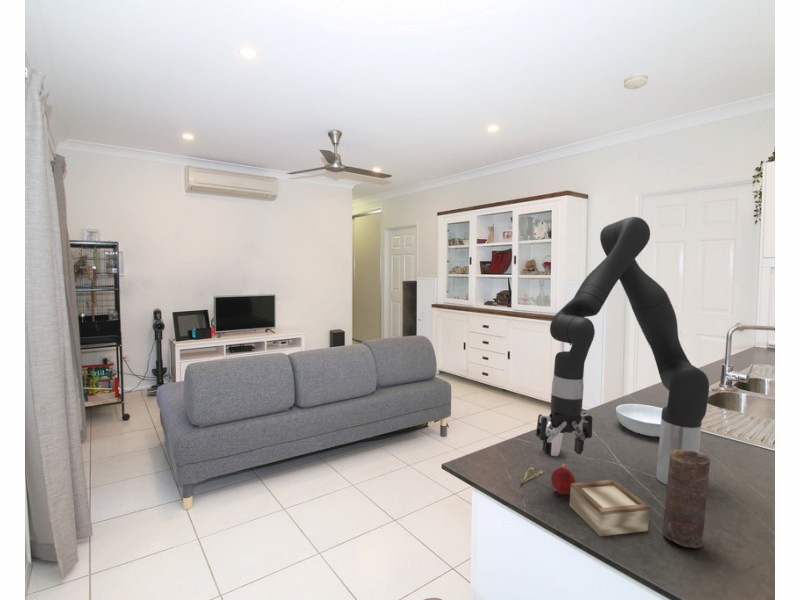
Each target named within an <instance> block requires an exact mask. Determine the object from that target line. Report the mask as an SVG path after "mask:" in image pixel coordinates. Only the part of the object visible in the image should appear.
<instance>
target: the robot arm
mask: <svg viewBox="0 0 800 600" xmlns="http://www.w3.org/2000/svg"><path fill="white" fill-rule="evenodd" d="M599 236H600V237H599V241H600V245H601V248H602V250H603V252H604V254H605V258H604V259H603V260H602V261H601V262H600V263H599V264H598V265H597V266H596V267H595V268H594V269H593V270H591V272H590V273H589V274H588V275H587V276H586V278H584V280H583V281H582V283H581V285H580V286H579V288H578V290H577V291H576V293H575V295H574V296H573V298H572V299H571V300H570V301H568V302H567V303H566V304H565V305H564V306H563V307H562V308H561V309H559V311H558V312H557V313H556V314H555V316H553V318H552V320H551V322H550V325H549V333H550V335H551V337H552V338H553V340H555V341H558V342H562V343H566V344H571V347H570V348H569V349H570V350H568V351H567V350H565V351H560V352H557V353H556V354H555V357H554V365H553V377H552V382H551V393H550V395H551V396H550V413H549V415H543V414H542V413H541V414H538V417H537V424H536V433H535V435H536V437H537V438H538V439H539V440H540V441H542V451H543V453H544V455H546V456H547V457H551V447H552V443H551V441H552V439H553V438H554V437H555V436H557V435H558V434H559V433H563V434H564V433H569V434H571V433H573V434H574V435H575V438H574V439H575V440H574V453H576V454H577V455H582V453H583V451H584V447H585V443H584V442H585V440H587V439H591V438H592V436H593V416H592V415H590V414H588V413H587V412H583V399H584V387H585V386H584V374H585V373H584V372H585V364H586V359H587V356H588V353H589V351H590V348H591V345H592V343H593V341H594V337H595V335H596V334H595V332H596V331H595V330H596V329H595V325H594V324H593V321H592V320H591V319H589V318H590V317H594V316H596V315H598V314H599V313H600V312H601V310H602V308H603V306H604V304H605V302H606V301H607V299H608V297H609V296H610V293H611V292H612V290H614V289H613V288H614V287H615V286H616V284H617V283H618V281H619V282H620V283H621V285H622V288H623V290H624V292H625V294H626V297H627V299H628V301H629V304H630V307H631V309H632V312H633V314H634V317H635V319H636V321H637V322H638V323H637V324H638V326H639V328H640V329H641V332H642V333H643V336H644V337H645V340H646V341H647V343H648V345H649V347H650V350H651V352H652V355H653V357H654V358H653V359H654V361H655V363H656V367H657V370H658V374H659V378H660V381H661V383H662V385H663V386H664V388H666V390H667V391H668V398H667V399H668V400H667V405H666V406H664V407H663V409H662V415H661V427H660V437H659V440H658V441H659V442H658V452H657V453H658V454H657V464H656V465H657V466H656V479H657V481H659V482H660V483H662V484H664V485H666V486H667V481H668V471H669V461H670V454H671V452H672V451H673V450H676V449H680V450H684V451H694V452H698V453H702V451H701V450H700V444H701V431H702V424H703V423H702V422H703V419H704V418H705V416H706V413H707V409H708V408H707V407H708V400H709V393H710V381H709V377H708V376H707V373H705V372H704V370H703V371H702V370H701V369H700V368H698V367H696V366H695V365H693V364H692V363H691V362H690V360H689V358H688V356H687V354H686V353H685V351H684V349H683V347H682V345H681V342H680V339H679V328H678V327H679V325H678V319H677V315H676V312H675V309H674V306H673V304H672V301H671V299H670V297H669V294H668V292H667V291H666V290H665V288H663V287H662V286H661V284H659V283H658V282H657V281H656V280H655V279H653V278H652V277H651V276H650V275H648V274H647V273H646V272H645V271H644V270H643V269H642V268H641V266H640V265H639V264H638V262H637V260H636V258H637V257H638V256H639V255H640V254H641V253H642V251H643V250H644V249H645V247H646V246H647V245H648V243H649V241H650V238H651V230H650V226H649V224H648V223H647V221H646V220H644V219H643V218H641V217H638V216H631V217H626V218H623V219H620V220H618V221H616V222H613V223H610V224H607V225H606V226H605V227H603V228H602V230H601V232H600V234H599ZM582 412H583V413H582ZM549 421H550V422H551V423H550V425H549V426H548V427H547V430H546V426H547V425H548V422H549ZM580 423H582V425H581V428H582V430H581V428H580V427H579V424H580ZM553 428H555V430H554V431H553ZM702 454H703V453H702Z"/></svg>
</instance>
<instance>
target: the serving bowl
mask: <svg viewBox="0 0 800 600" xmlns="http://www.w3.org/2000/svg"><path fill="white" fill-rule="evenodd" d="M663 408H664V407H663ZM663 408H662V407H659V406H653V405H647V404H640V403H623V404H619V405H617V406H616V408H615V411H616V413H615V414H616V417H617V419H618V421H619V423H620V424H621V425H622V426H624V427H625V428H626V429H628V430H630V431H632V432H634V433H636V434H639V433H640V435H642V434H643V435H642V436H646V435H647V436H646V437H654V436H655V437H658V438H660V427H661V415H662V409H663Z"/></svg>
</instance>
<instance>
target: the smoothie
mask: <svg viewBox="0 0 800 600" xmlns="http://www.w3.org/2000/svg"><path fill="white" fill-rule="evenodd" d="M550 423H551V422H550V421H549V422H548V425H547V426H546V430H547V427H548V426H549V425H550ZM554 430H555V428H553V431H554ZM563 435H564V433H559V434H558V435H557V436H555V437H554V438H553V439H552V441H551V443H552V447H551V456H552V457H558V456H560V452H561V447H562V441H563ZM551 456H550V457H551Z"/></svg>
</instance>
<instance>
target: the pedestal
mask: <svg viewBox="0 0 800 600" xmlns="http://www.w3.org/2000/svg"><path fill="white" fill-rule="evenodd" d="M569 495H570V496H569V507H570V508H571V509H572V510H573V511H575V512H576V514H577V515H578V516H579V517H580V518H581V519H582V520H583V521H584V522H585V523H586V524H587V525H588V526H589V527H591V529H592V530H594V532H595V533H596V534H597V535H598V536H599V537H606V536H607V537H608V536H615V535H622V534H623V535H624V534H632V533H640V532H648V531H649V523H650V522H649V520H650V508H651V507H650V506H649V505H648V504H647V503H646V502H644V501H643V500H642V499H641V498H639V497H638V496H636V495H635V494H634V493H633V492H631V491H630V490H629V489H627V488H626V487H625V486H623V485H622V484H621V483H620V482H618V481H617V480H615V479H605V480H593V481H585V482H583V481H581V482H575V483H571V490H570V492H569Z"/></svg>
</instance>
